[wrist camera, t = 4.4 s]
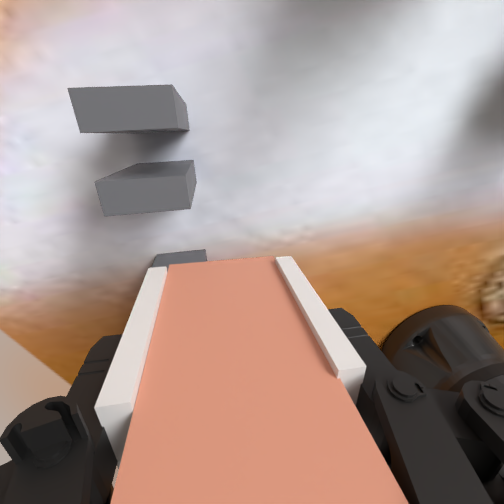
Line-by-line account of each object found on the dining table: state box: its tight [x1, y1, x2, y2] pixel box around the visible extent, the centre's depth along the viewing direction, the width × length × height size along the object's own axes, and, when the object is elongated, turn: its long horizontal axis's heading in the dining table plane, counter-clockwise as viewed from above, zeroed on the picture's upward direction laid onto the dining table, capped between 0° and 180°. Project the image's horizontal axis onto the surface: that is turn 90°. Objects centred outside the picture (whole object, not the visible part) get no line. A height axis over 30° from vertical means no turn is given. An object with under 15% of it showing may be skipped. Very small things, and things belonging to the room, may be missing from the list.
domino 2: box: [95, 160, 196, 216], centre depth 20 cm, size 2×5×10 cm, turn 93°
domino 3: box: [151, 249, 207, 273], centre depth 24 cm, size 2×5×10 cm, turn 93°
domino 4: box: [110, 256, 409, 504], centre depth 9 cm, size 2×5×10 cm, turn 91°
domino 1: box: [68, 85, 189, 133], centre depth 18 cm, size 2×5×10 cm, turn 93°
